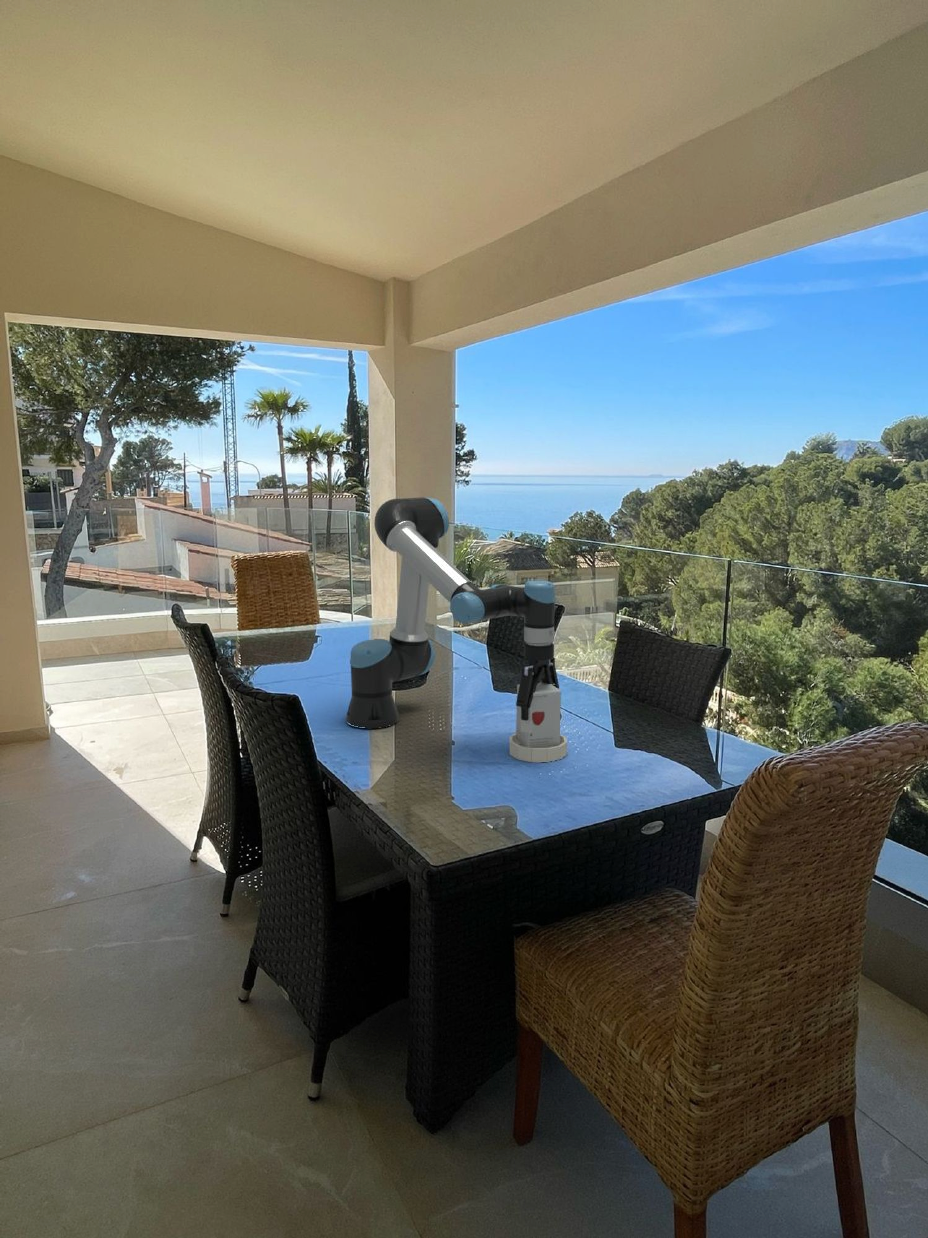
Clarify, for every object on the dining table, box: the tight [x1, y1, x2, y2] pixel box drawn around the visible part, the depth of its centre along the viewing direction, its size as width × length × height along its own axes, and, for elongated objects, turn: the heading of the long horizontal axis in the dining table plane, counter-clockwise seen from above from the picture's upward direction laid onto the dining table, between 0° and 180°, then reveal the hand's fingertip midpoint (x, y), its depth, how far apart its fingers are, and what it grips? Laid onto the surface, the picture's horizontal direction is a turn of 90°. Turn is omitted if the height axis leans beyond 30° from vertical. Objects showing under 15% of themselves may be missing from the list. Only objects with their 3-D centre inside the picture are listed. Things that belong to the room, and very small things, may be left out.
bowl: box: [508, 732, 568, 763], centre depth 198 cm, size 15×15×4 cm
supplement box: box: [515, 682, 562, 748], centre depth 197 cm, size 9×9×15 cm
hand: (537, 725), depth 197 cm, fingers closed on supplement box, 12 cm apart
